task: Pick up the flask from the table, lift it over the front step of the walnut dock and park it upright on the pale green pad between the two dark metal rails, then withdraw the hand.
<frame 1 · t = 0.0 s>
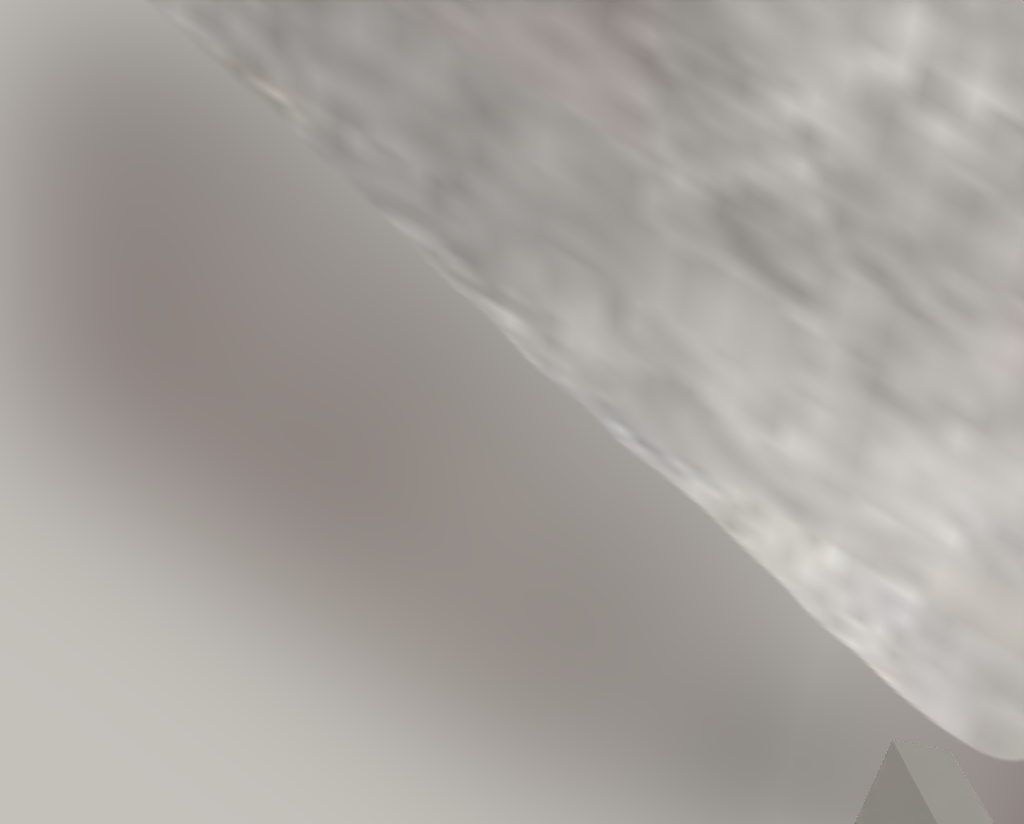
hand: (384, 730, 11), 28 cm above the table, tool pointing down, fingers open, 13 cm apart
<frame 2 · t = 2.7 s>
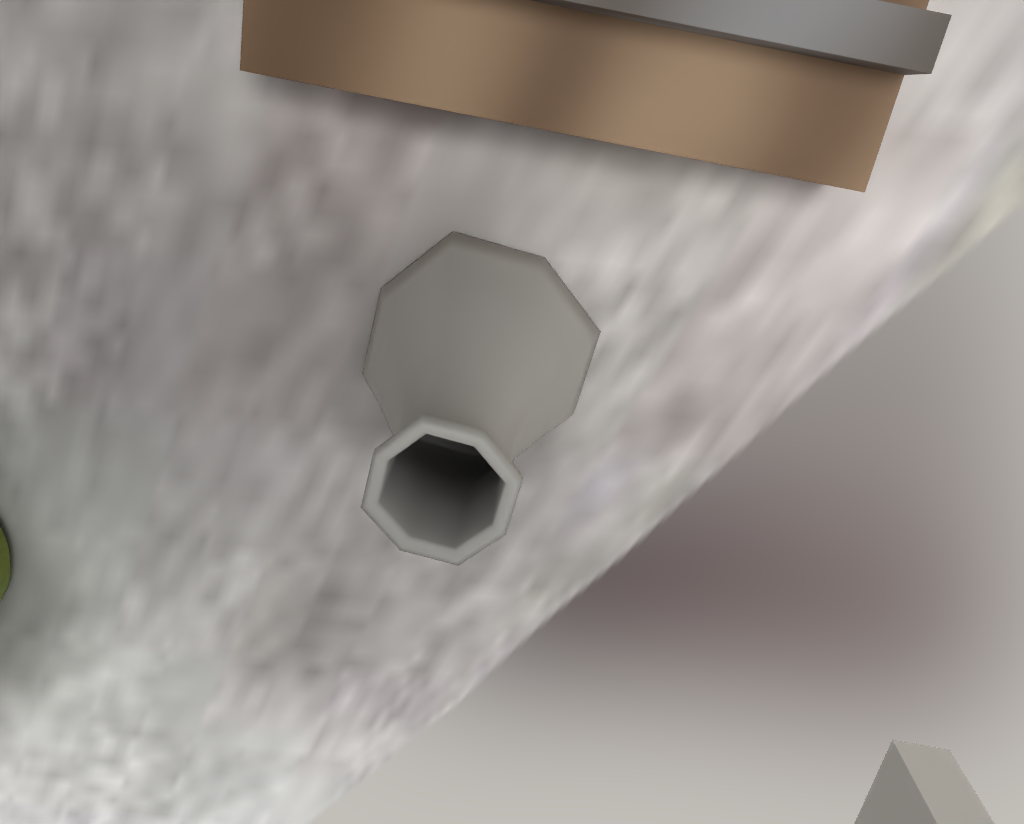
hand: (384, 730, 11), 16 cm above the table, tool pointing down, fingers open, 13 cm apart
flask: (480, 348, 26), on the table
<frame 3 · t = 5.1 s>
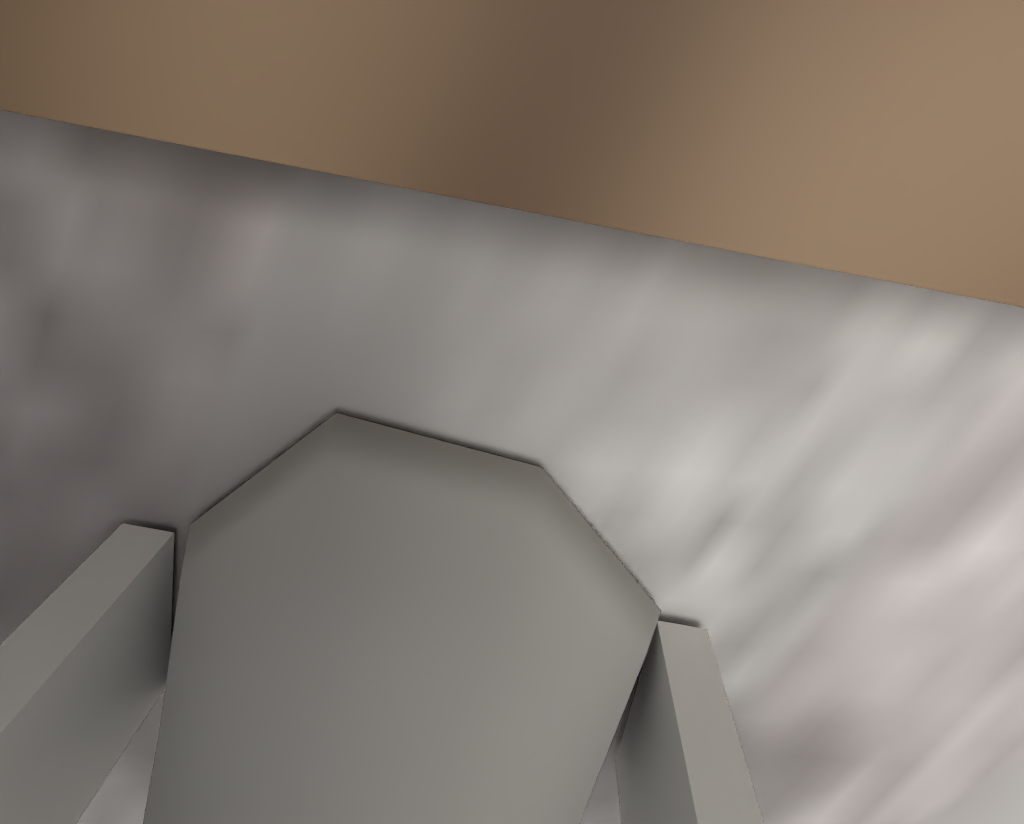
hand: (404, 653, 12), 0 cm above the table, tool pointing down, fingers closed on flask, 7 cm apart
flask: (411, 627, 13), on the table, touching gripper
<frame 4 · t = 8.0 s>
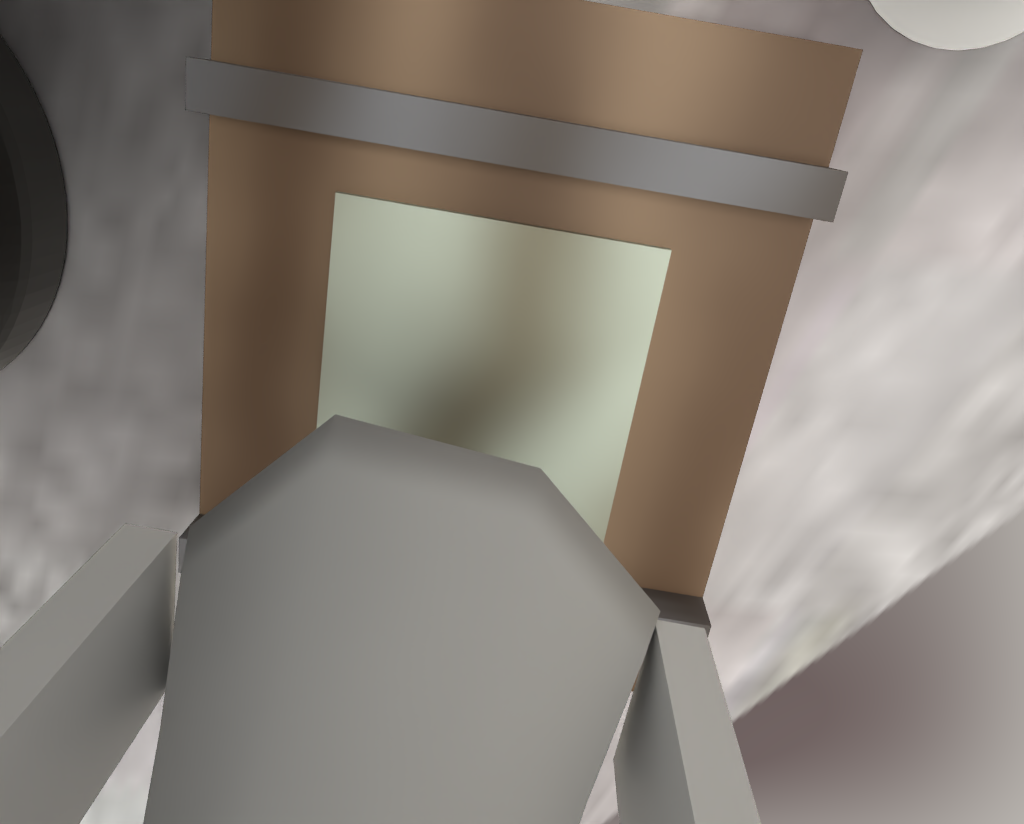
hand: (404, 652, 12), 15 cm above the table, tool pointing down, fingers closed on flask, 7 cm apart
flask: (410, 628, 13), point 15 cm above the table, touching gripper
dock: (487, 347, 26), on the table
when the fingers open (5 cm above the table, at t = 10.7 s): flask drops 1 cm, resting on dock.
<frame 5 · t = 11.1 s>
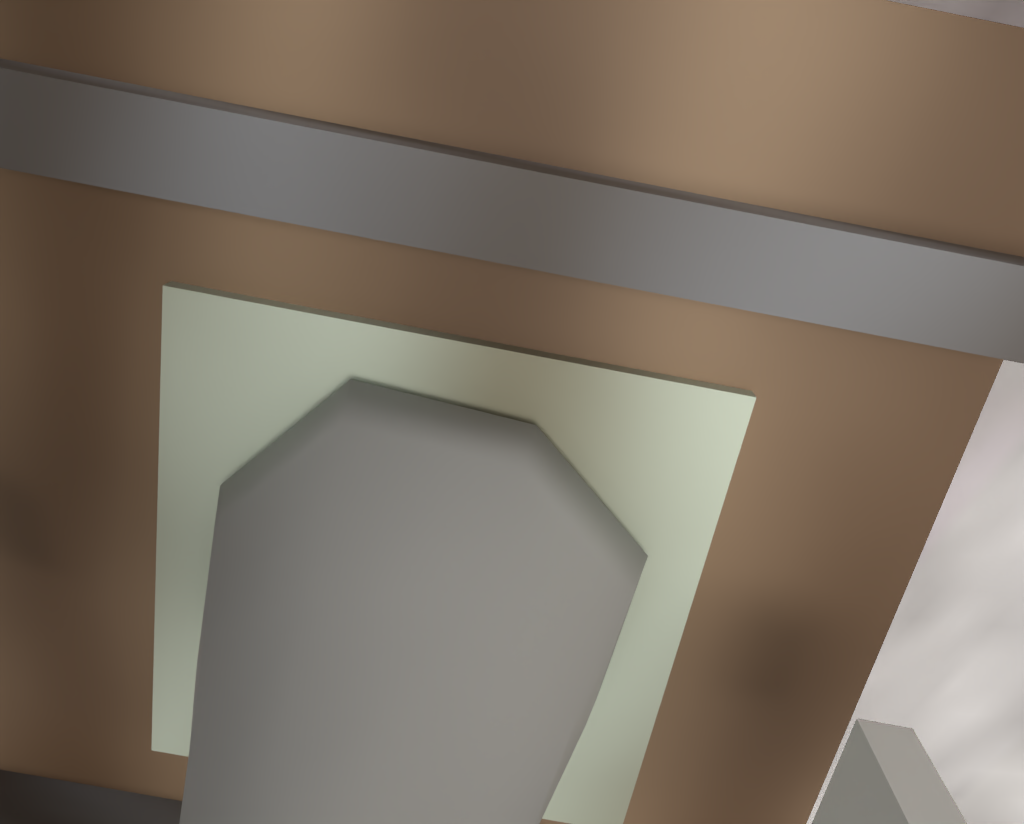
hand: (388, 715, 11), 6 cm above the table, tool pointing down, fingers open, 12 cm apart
flask: (421, 578, 14), point 3 cm above the table, touching dock
dock: (444, 502, 17), on the table
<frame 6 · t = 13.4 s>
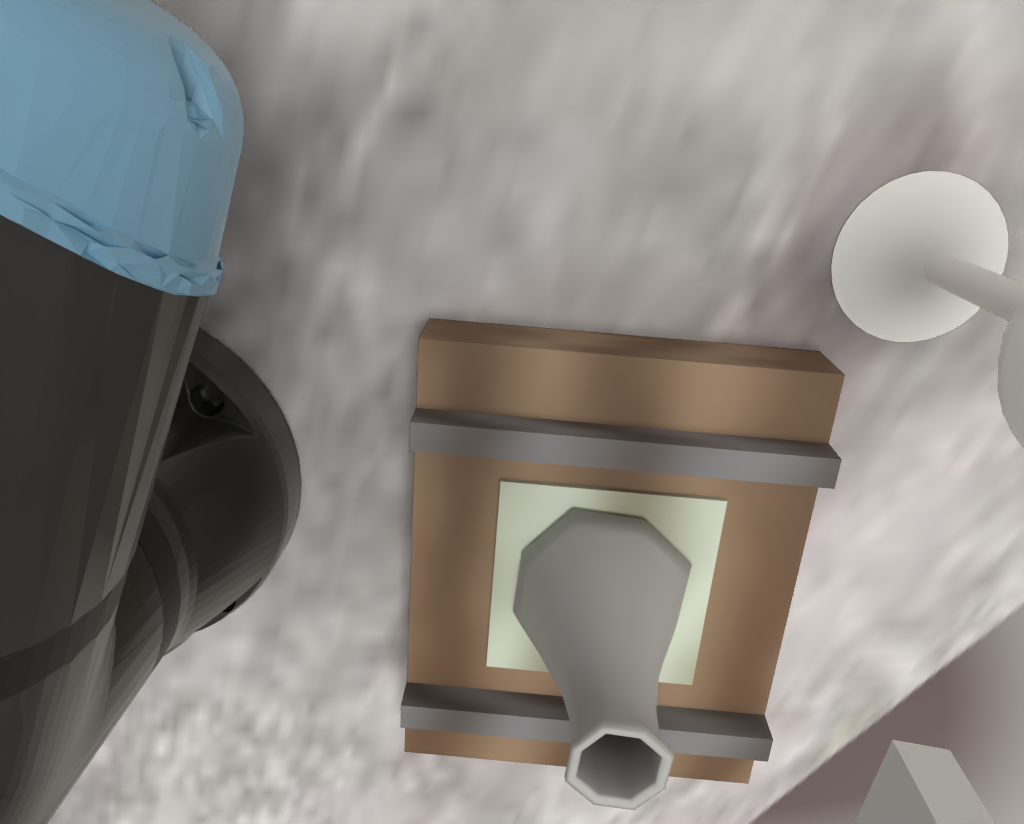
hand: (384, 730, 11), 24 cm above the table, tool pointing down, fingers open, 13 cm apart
flask: (600, 581, 34), point 3 cm above the table, touching dock
champagne flute: (916, 258, 32), on the table
dock: (596, 547, 37), on the table
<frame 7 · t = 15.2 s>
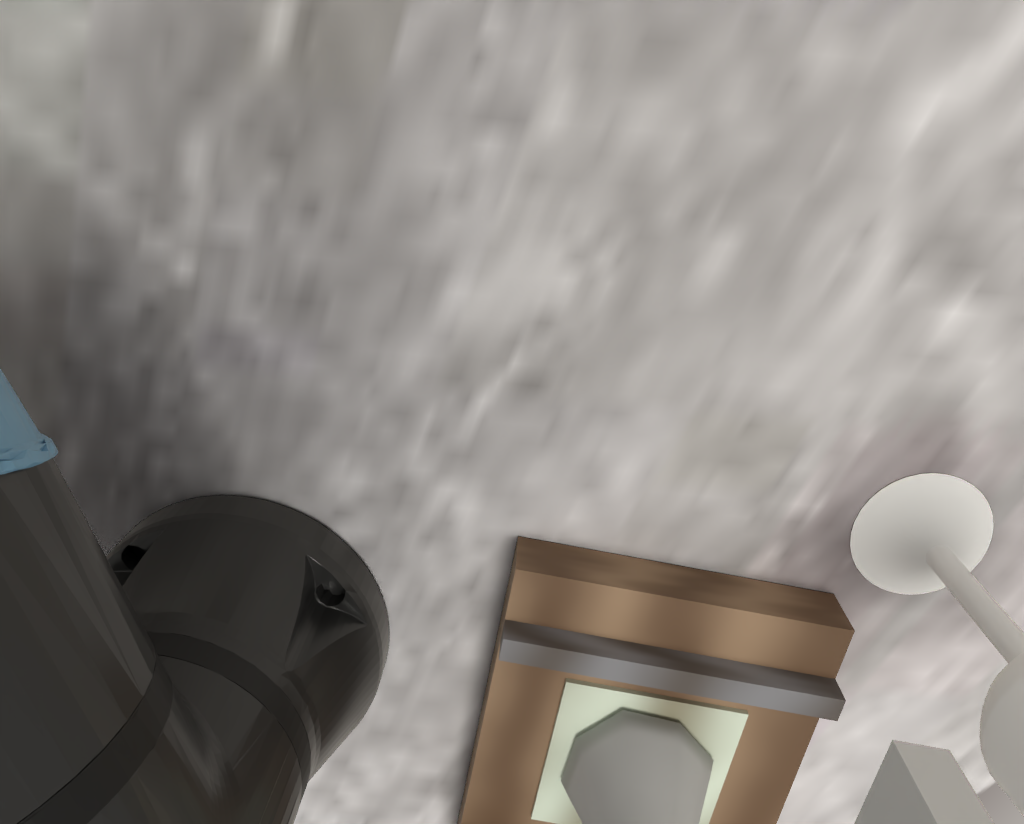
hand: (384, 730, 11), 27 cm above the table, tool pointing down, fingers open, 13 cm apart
flask: (635, 763, 41), point 3 cm above the table, touching dock
champagne flute: (919, 533, 39), on the table
dock: (629, 721, 44), on the table
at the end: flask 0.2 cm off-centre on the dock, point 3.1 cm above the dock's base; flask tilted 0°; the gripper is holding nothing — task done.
